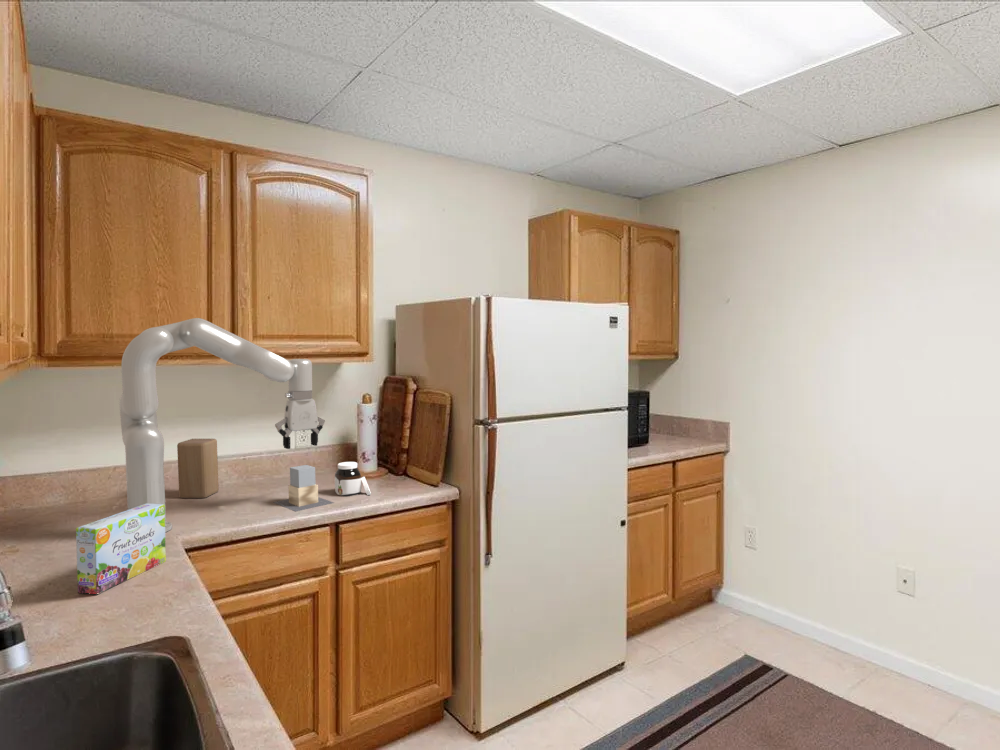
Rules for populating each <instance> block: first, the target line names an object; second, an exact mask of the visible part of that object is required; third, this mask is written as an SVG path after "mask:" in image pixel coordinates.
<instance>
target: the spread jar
mask: <svg viewBox="0 0 1000 750" xmlns="http://www.w3.org/2000/svg"><path fill="white" fill-rule="evenodd" d="M362 485H363V489H364V491H365V493H366V495H367V496H371V494H372V492H371V490H370V487H369V484H368V482H367V479H366V477H365V476H362V475H361V472H360V470H359V469H358V462H356V461H343V462H339V463H337V470H336V471H335V473H334V489H335V490H334V491H335V494H337V495H338V496H341V497H352V496H356V495H360V494H361V493H362Z"/></svg>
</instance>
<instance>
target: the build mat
mask: <svg viewBox="0 0 1000 750" xmlns="http://www.w3.org/2000/svg"><path fill="white" fill-rule="evenodd" d="M272 503H273V504H276V505H278V506H280V507H283V508H285V509H288V510H290V511H293V512H300V511H305V510H308V509H313V508H318V507H322V506H326V505H331V504H335V502H333V501H331V500H329V499H325V498H323V497H319V496H318V503H313V504H308V505H304V506H296V505H294V504H291V503H289V498H288V499H283V500H278V501H273V502H272Z"/></svg>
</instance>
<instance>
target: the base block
mask: <svg viewBox="0 0 1000 750" xmlns="http://www.w3.org/2000/svg"><path fill="white" fill-rule="evenodd" d="M287 488H288V499H289V503H291V504H294V505H296V506H304V505H308V504H313V503H318V497H319V485H318V484H316V485H312V486H307V487H302V488H297V487H294V486H291V485H290V484H289V485H288V487H287Z"/></svg>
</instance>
